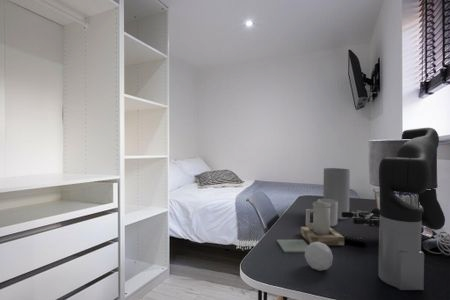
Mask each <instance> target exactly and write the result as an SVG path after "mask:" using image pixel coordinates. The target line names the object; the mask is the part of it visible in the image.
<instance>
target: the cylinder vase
mask: <svg viewBox="0 0 450 300" xmlns="http://www.w3.org/2000/svg"><path fill="white" fill-rule="evenodd" d="M350 176H351V169H348V168H335V167H325V168H323V185H322V186H323V187H322V188H323V189H322V190H323V193H322V194H323V196H322V199H331V200H335V201H337V202H338V213H337V220H347V219H348V218H343V217H342V212H350V193H351V191H350V184H351V181H350V180H351V177H350Z"/></svg>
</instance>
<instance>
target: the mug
mask: <svg viewBox="0 0 450 300" xmlns="http://www.w3.org/2000/svg"><path fill="white" fill-rule="evenodd" d="M316 202H326V203H330V204H331V207H330V228H333V227H335V226H337V225H338V219H337V213H338V202H337V201H335V200H331V199H323V198H319V199H317V200H316Z"/></svg>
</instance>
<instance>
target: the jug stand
mask: <svg viewBox="0 0 450 300" xmlns="http://www.w3.org/2000/svg"><path fill="white" fill-rule="evenodd" d="M330 234H331V235H315V234H314V233H313V226H300V235H301V236H302V237H303V238H304V239H305V240H306V241H307V242H308V244H310V243H313V242H321V243H323V244H326V245H327V246H345V236H344V235H342V234H341V233H339V232H338V231H336V230H334V228H333V227H330Z"/></svg>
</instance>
